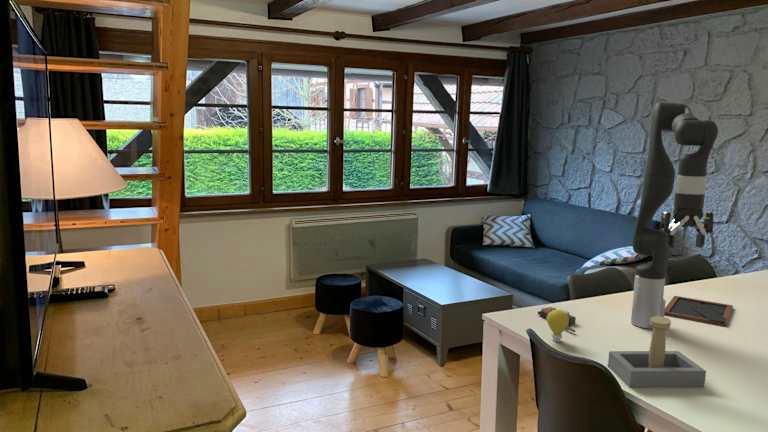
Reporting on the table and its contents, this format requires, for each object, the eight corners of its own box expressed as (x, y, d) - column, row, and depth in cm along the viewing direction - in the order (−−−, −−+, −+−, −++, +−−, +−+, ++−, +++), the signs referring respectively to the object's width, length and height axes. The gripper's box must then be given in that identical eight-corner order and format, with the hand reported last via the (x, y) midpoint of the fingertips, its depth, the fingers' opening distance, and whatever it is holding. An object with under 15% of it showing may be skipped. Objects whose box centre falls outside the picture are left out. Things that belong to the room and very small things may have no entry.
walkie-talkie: (532, 316, 201) (572, 336, 183) (532, 305, 200) (572, 323, 182) (551, 313, 205) (592, 332, 187) (552, 302, 204) (593, 319, 186)
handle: (666, 370, 155) (672, 318, 152) (662, 379, 149) (668, 325, 147) (647, 366, 157) (652, 314, 155) (643, 374, 152) (648, 321, 150)
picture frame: (725, 328, 193) (732, 309, 212) (726, 323, 192) (733, 304, 212) (661, 316, 204) (674, 299, 224) (662, 311, 204) (674, 294, 224)
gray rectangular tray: (676, 365, 160) (678, 351, 160) (704, 387, 147) (706, 370, 147) (607, 366, 159) (609, 351, 159) (629, 387, 147) (630, 371, 146)
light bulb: (542, 336, 181) (544, 306, 180) (562, 336, 182) (564, 306, 180) (550, 344, 175) (552, 313, 173) (571, 344, 175) (573, 313, 174)
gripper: (706, 190, 164) (700, 244, 166) (658, 189, 163) (653, 244, 166) (722, 193, 156) (716, 250, 159) (672, 193, 156) (667, 250, 158)
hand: (684, 247), depth 162 cm, fingers open, 8 cm apart
